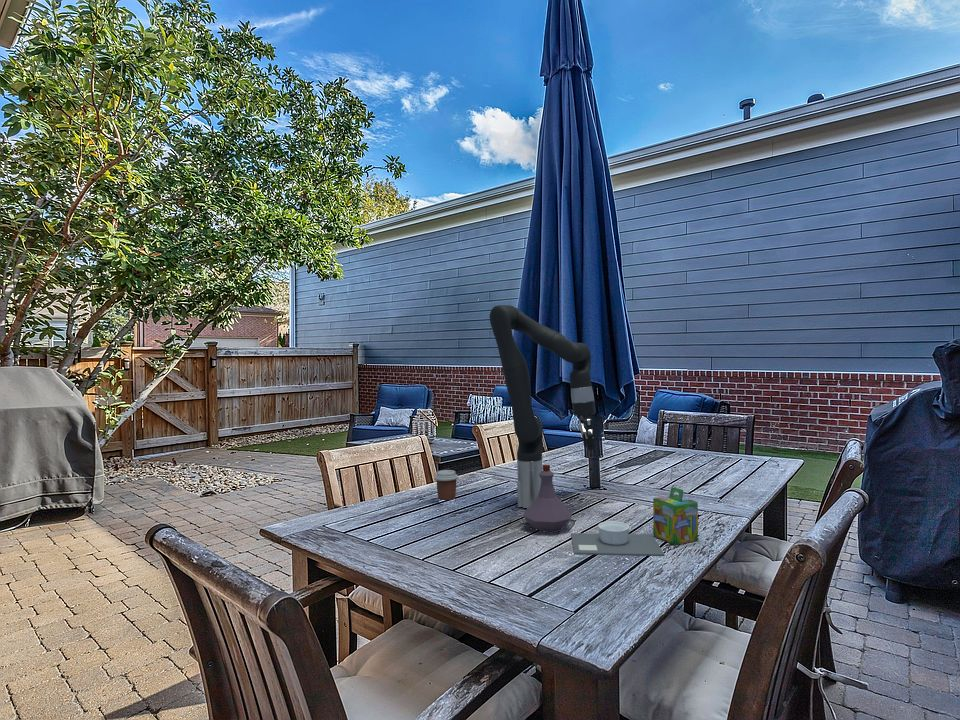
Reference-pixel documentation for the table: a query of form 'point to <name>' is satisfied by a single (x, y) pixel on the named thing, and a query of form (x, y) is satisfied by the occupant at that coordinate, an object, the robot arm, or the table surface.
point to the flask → (547, 506)
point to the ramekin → (613, 532)
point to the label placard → (634, 545)
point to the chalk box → (675, 518)
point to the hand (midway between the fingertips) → (589, 448)
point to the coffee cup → (446, 484)
